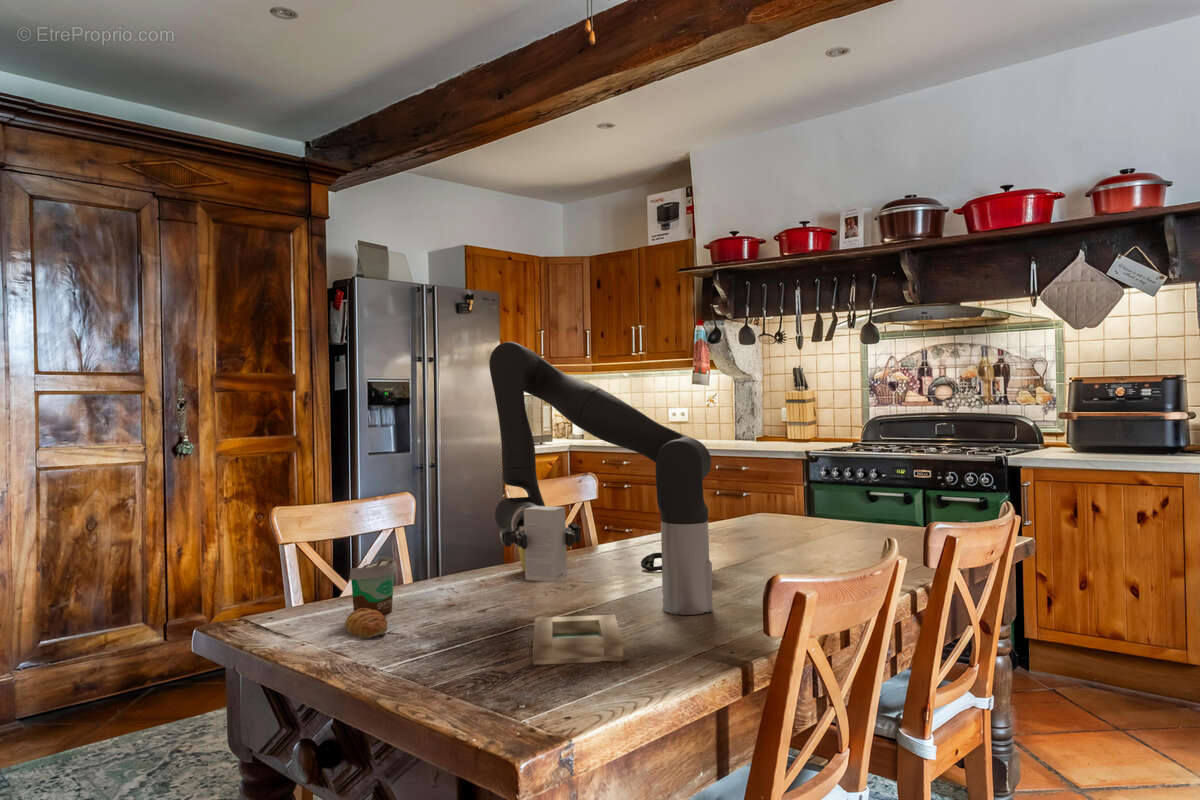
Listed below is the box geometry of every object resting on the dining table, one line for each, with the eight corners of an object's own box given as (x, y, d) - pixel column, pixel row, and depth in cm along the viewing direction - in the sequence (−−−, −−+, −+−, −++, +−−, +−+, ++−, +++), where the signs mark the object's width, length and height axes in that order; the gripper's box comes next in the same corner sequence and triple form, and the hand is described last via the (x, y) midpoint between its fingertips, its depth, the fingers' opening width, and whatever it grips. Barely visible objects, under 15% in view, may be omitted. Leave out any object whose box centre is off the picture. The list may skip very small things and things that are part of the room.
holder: (615, 631, 138) (614, 614, 138) (623, 661, 122) (622, 641, 122) (535, 634, 137) (535, 617, 137) (533, 664, 121) (532, 645, 121)
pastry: (397, 635, 139) (396, 613, 139) (360, 643, 135) (359, 621, 135) (376, 624, 147) (376, 604, 147) (341, 631, 143) (340, 610, 143)
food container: (380, 622, 147) (379, 569, 148) (350, 621, 149) (349, 568, 149) (408, 605, 160) (407, 556, 160) (381, 604, 161) (380, 556, 161)
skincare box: (567, 577, 132) (566, 506, 132) (556, 582, 128) (554, 510, 128) (536, 574, 134) (535, 505, 134) (524, 580, 131) (522, 508, 131)
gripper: (493, 508, 144) (504, 521, 127) (570, 504, 147) (589, 516, 131) (494, 548, 143) (504, 567, 127) (571, 544, 147) (590, 561, 131)
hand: (547, 541), depth 129 cm, fingers closed on skincare box, 7 cm apart
